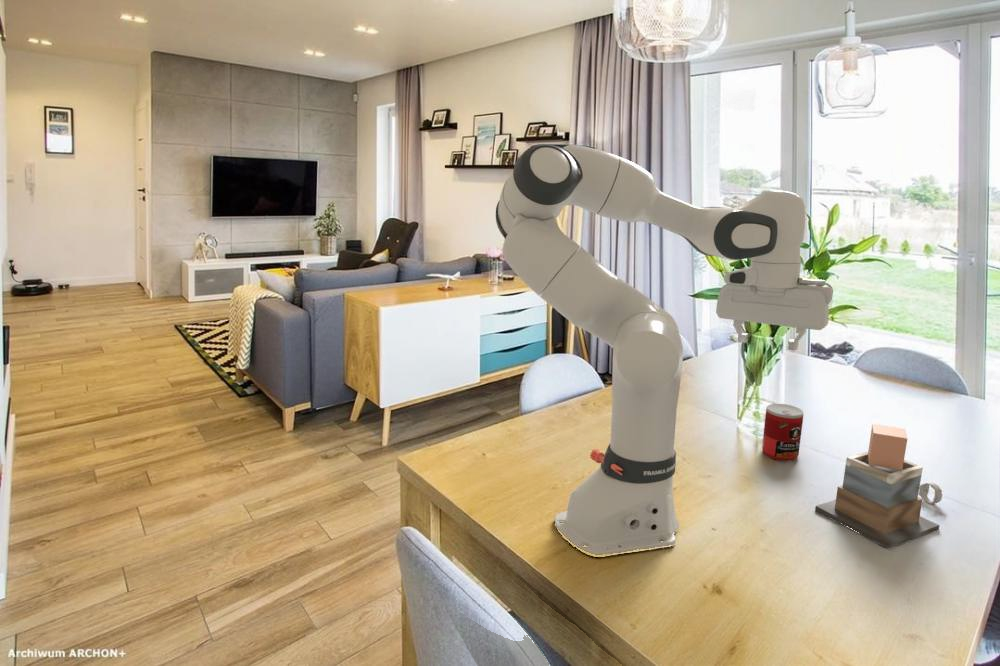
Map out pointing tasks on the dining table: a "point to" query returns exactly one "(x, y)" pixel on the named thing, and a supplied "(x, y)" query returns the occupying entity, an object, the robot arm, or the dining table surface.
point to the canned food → (782, 432)
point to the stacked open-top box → (880, 502)
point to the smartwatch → (925, 489)
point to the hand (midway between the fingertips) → (766, 345)
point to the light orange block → (887, 447)
